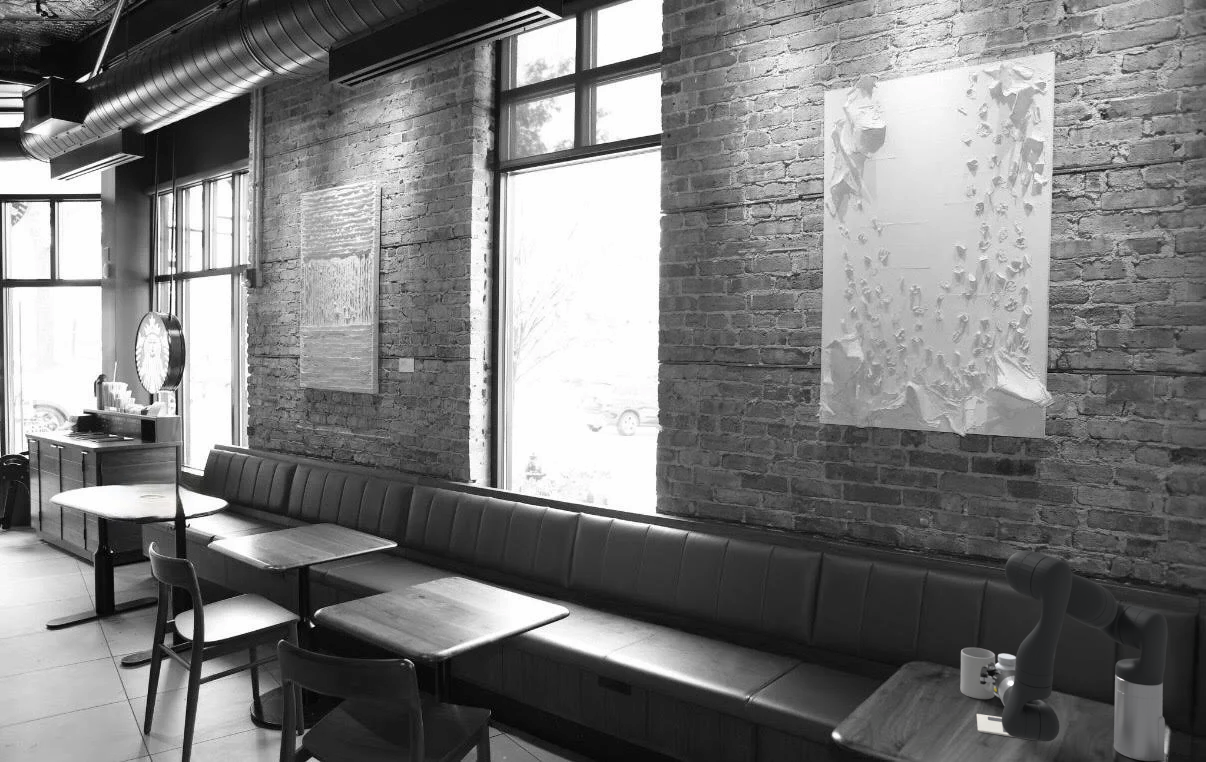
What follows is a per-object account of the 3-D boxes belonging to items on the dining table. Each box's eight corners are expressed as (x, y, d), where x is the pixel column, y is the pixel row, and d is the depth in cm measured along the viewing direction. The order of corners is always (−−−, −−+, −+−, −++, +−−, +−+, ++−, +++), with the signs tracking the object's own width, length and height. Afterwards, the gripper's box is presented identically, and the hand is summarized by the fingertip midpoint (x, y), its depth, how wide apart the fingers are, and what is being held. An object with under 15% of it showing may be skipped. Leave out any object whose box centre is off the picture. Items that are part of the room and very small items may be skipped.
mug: (954, 687, 231) (954, 648, 231) (983, 686, 232) (983, 646, 232) (978, 705, 220) (979, 663, 219) (1009, 703, 221) (1010, 662, 220)
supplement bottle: (993, 697, 205) (993, 657, 205) (994, 690, 210) (995, 651, 210) (1018, 702, 202) (1018, 661, 202) (1018, 694, 207) (1019, 654, 207)
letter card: (1034, 723, 209) (1034, 721, 209) (1038, 740, 199) (1038, 738, 199) (976, 715, 214) (976, 713, 214) (977, 731, 204) (977, 729, 204)
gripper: (1052, 680, 190) (1037, 655, 206) (982, 672, 194) (973, 649, 211) (1051, 713, 190) (1036, 686, 206) (982, 705, 195) (973, 679, 211)
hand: (1004, 667), depth 208 cm, fingers closed on supplement bottle, 5 cm apart
